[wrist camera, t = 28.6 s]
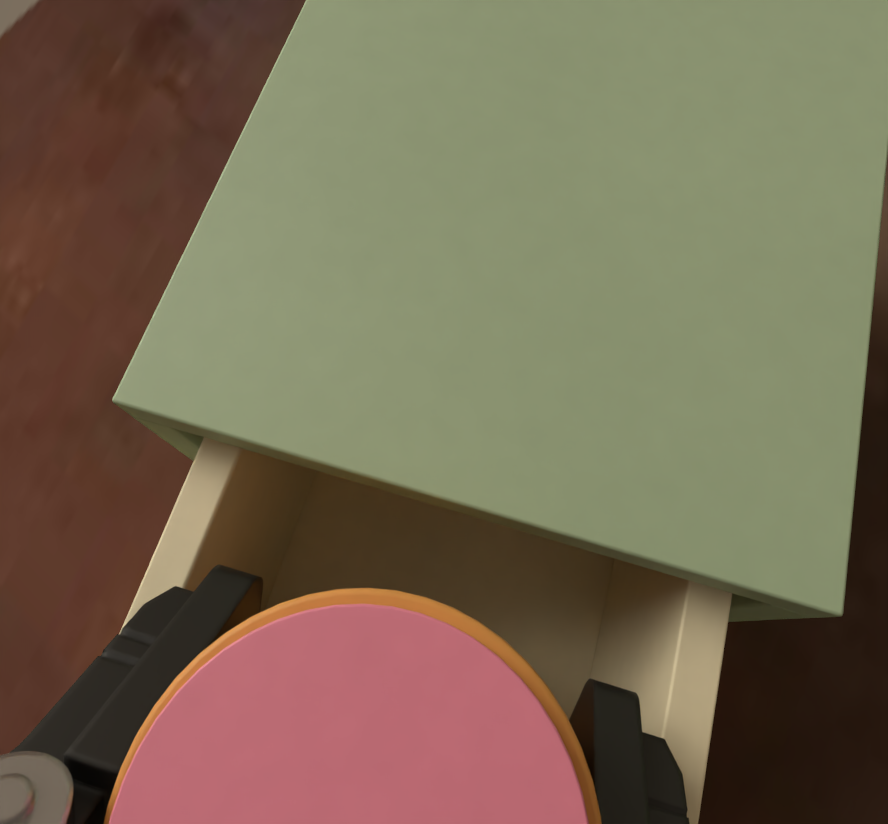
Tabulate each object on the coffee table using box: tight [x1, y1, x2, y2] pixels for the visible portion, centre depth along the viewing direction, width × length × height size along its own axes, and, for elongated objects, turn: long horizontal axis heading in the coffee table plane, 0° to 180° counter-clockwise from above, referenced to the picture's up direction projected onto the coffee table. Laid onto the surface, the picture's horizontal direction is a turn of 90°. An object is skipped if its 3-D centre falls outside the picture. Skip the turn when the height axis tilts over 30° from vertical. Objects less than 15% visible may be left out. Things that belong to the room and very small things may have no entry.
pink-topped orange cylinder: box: [104, 588, 602, 824], centre depth 11 cm, size 5×5×8 cm
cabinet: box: [113, 0, 888, 622], centre depth 18 cm, size 15×13×9 cm
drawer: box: [120, 437, 732, 824], centre depth 13 cm, size 18×11×7 cm, turn 164°
